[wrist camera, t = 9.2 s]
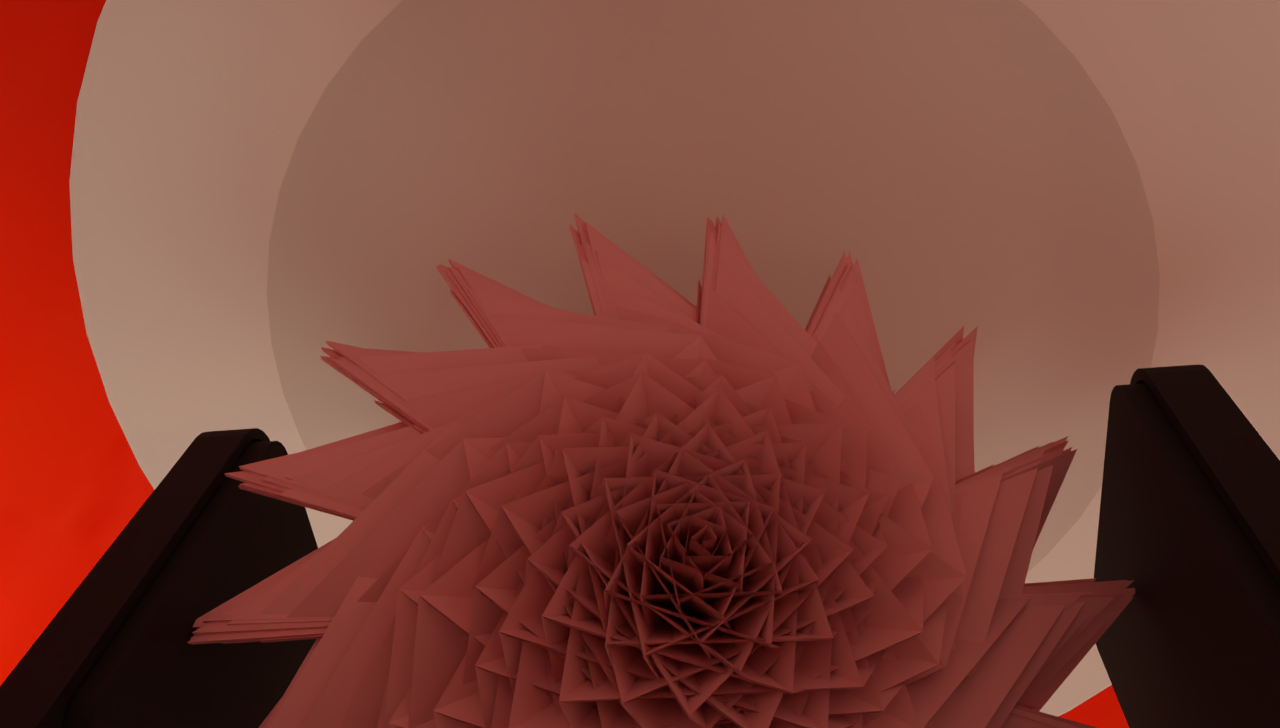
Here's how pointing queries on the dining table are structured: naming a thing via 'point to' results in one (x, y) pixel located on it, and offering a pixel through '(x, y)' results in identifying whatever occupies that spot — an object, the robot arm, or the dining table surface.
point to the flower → (668, 525)
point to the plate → (683, 197)
